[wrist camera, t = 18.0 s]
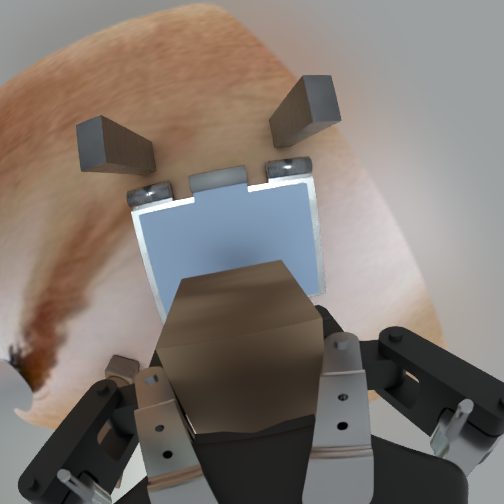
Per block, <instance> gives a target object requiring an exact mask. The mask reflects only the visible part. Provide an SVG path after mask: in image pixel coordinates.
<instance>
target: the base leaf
mask: <svg viewBox="0 0 504 504" xmlns="http://www.w3.org/2000/svg"><path fill="white" fill-rule="evenodd" d="M269 121H270V126H271V131H272V137H273V142H274V148H276V147H284V146H292V145H294V144H296V143H298V142H300V141H302V140H304V139H306V138H308V137H310V136H312V135H314V134H316V133H318V132H320V131H322V130H324V129H326V128H328V127H330V126H332V125H334V124H336V123H338V122H340V121H341V116H340V111H339V107H338V102H337V98H336V94H335V90H334V86H333V81H332V78H331V76H330V75H304V76H302V77H301V78H300V80H299V81H298V82H297V83H296V85H295V86H294V87H293V88H292V90H291V91H290V92H289V94H288V95H287V96H286V98H285V99H284V100H283V102H282V103H281V104H280V106H279V107H278V108H277V110H276V111H275V112H274V114H273V115H272V116H271V118H270V119H269ZM76 130H77V141H78V151H79V159H80V166H81V172H102V173H119V174H134V175H141V174H145V173H148V172H152V171H156V166H155V160H154V154H153V148H152V142H151V141H149V140H147V139H145V138H144V137H142V136H140V135H138V134H136V133H134V132H132V131H131V130H129V129H127V128H125V127H123V126H121V125H119V124H117V123H115V122H113V121H112V120H110V119H108V118H106V117H104V116H102V115H100V116H97V117H95V118H92V119H90V120H87V121H85V122H83V123H80V124H78V125H76ZM266 172H267V176H268V178H267V180H268V183H265V184H259V185H253V186H248V190H249V192H251V191H256V190H262V189H268V188H275V187H281V186H287V185H294V184H301V183H307V188H308V195H309V202H310V209H311V217H312V225H313V233H314V242H315V251H316V261H317V271H318V282H319V293H315V294H310V295H307V296H308V298H309V297H313V296H317V295H321V294H325V293H326V286H325V274H324V263H323V252H322V243H321V233H320V225H319V217H318V209H317V201H316V194H315V187H314V180H313V177H310V173H311V172H312V162H311V159H310V157H309V156H307V157H299V158H290V159H283V160H275V161H268V162H266ZM127 202H128V205H129V206H130V207H131V208H132V207H133V211H132V212H131V214H132V218H133V223H134V227H135V231H136V235H137V239H138V243H139V247H140V251H141V255H142V259H143V263H144V266H145V270H146V273H147V277H148V280H149V284H150V287H151V290H152V293H153V297H154V300H155V303H156V306H157V309H158V312H159V315H160V318H161V321H162V324H163V325H164V324H165V321H166V318H167V317H166V313H165V310H164V307H163V304H162V301H161V298H160V295H159V291H158V288H157V285H156V281H155V278H154V274H153V271H152V267H151V264H150V260H149V256H148V252H147V249H146V245H145V241H144V237H143V232H142V228H141V224H140V220H139V215H141V214H145V213H149V212H153V211H158V210H162V209H166V208H171V207H175V206H180V205H184V204H189V203H194V198H193V197H191V198H186V199H181V200H177V201H174V198H173V196H172V190H171V186H170V183H169V181H165V182H161V183H157V184H153V185H149V186H145V187H141V188H137V189H134V190H130V191H127Z"/></svg>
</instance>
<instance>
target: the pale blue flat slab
mask: <svg viewBox="0 0 504 504" xmlns="http://www.w3.org/2000/svg"><path fill="white" fill-rule="evenodd" d="M189 183H190V188H191V191H192V193H193V198H194V203H189V204H184V205H180V206H175V207H171V208H166V209H162V210H158V211H153V212H149V213H145V214H141V215H139V220H140V224H141V228H142V232H143V237H144V241H145V245H146V249H147V252H148V256H149V260H150V264H151V267H152V271H153V274H154V278H155V281H156V285H157V288H158V291H159V295H160V298H161V301H162V304H163V307H164V310H165V313H166V317H167V315H168V313H169V310H170V307H171V305H172V302H173V300H174V297H175V294H176V292H177V289H178V287H179V284H180V282H181V279H183V278H189V277H194V276H199V275H204V274H210V273H215V272H220V271H225V270H230V269H235V268H240V267H246V266H251V265H256V264H261V263H266V262H271V261H276V260H282V261H283V263H284V264H285V265H286V267H287V268H288V270H289V271H290V272H291V274H292V275H293V277H294V278H295V279H296V281H297V282H298V284H299V285H300V287H301V288H302V289H303V291H304V292H305V294H306V295H310V294H315V293H319V282H318V271H317V261H316V251H315V242H314V233H313V225H312V217H311V209H310V202H309V195H308V188H307V183H301V184H294V185H287V186H281V187H275V188H268V189H262V190H256V191H251V192H249V190H248V184H247V174H246V169H245V166H244V165H243V166H237V167H232V168H226V169H221V170H216V171H210V172H205V173H201V174H196V175H191V176H189Z"/></svg>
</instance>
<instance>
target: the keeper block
mask: <svg viewBox="0 0 504 504" xmlns="http://www.w3.org/2000/svg"><path fill="white" fill-rule="evenodd" d="M156 351H157V354H158V356H159V358H160V361H161V363H162V365H163V368H164V370H165V372H166V374H167V376H168V379H169V381H170V383H171V385H172V387H173V389H174V391H175V393H176V395H177V397H178V399H179V401H180V403H181V405H182V407H183V409H184V411H185V413H186V415H187V417H188V419H189V420H190V422H191V424H192V426H193V428H194V430H195V431H196V433H197V434H201V433H212V432H222V431H226V432H243V433H255V432H258V431H261V430H264V429H266V428H269V427H271V426H274V425H276V424H278V423H281V422H283V421H286V420H291V419H295V418H299V417H303V416H307V415H311V414H314V416H315V418H316V412H317V403H318V394H319V383H320V373H322V363H323V353H324V338H323V320H322V317H321V315H320V314H319V312H318V311H317V309H316V308H315V306H314V305H313V304H312V302H311V301H310V299H309V298H308V296H307V295H306V294H305V292H304V291H303V289H302V288H301V287H300V285H299V284H298V282H297V281H296V279H295V278H294V277H293V275H292V274H291V272H290V271H289V270H288V268H287V267H286V265H285V264H284V263H283V261H282V260H276V261H271V262H266V263H261V264H256V265H251V266H246V267H240V268H235V269H230V270H225V271H220V272H215V273H210V274H204V275H199V276H194V277H189V278H183V279H181V282H180V284H179V287H178V289H177V292H176V294H175V297H174V300H173V302H172V305H171V307H170V310H169V313H168V315H167V318H166V321H165V324H164V326H163V329H162V332H161V335H160V338H159V340H158V343H157V346H156Z"/></svg>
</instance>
